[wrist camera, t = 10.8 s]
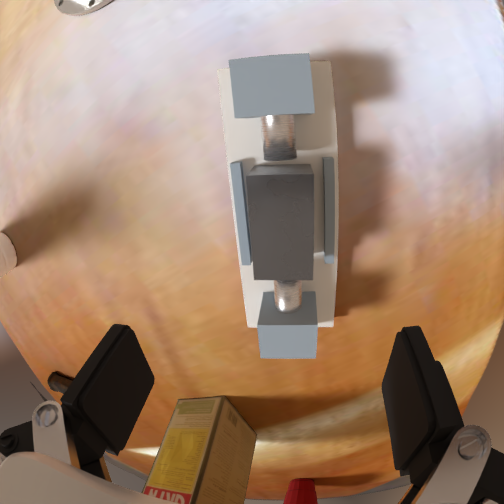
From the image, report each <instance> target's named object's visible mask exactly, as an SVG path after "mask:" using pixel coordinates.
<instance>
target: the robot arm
mask: <svg viewBox="0 0 504 504" xmlns="http://www.w3.org/2000/svg"><path fill="white" fill-rule="evenodd" d="M111 1H112V0H54V3H55V6H56V7H57V9H58V10H59V11H60V12H61V13H64V14H67V15H72V16H80V15H85V14H88V13H91V12H93V11H96V10H98V9H100V8H101V7H103V6H105V5H106V4H108V3H109V2H111ZM153 385H154V375H153V373H152V371H151V369H150V367H149V365H148V362H147V360H146V358H145V356H144V354H143V351H142V349H141V347H140V344H139V342H138V340H137V337H136V335H135V333H134V331H133V330H132V329H131V328H130V327H129V326H128V325H121V324H114V325H113V326H112V327H111V328H110V329H109V331H108V332H107V333H106V335H105V336H104V337H103V339H102V340H101V341H100V343H99V344H98V346H97V347H96V348H95V350H94V351H93V353H92V354H91V355H90V357H89V358H88V360H87V361H86V362H85V364H84V365H83V367H82V368H81V370H80V371H79V372H78V374H77V375H76V377H75V378H74V380H73V381H72V383H71V384H70V386H69V387H68V389H67V390H66V392H65V393H64V395H63V396H62V398H61V399H60V400H61V402H62V405H61V406H60V405H59V403H57V402H55V401H46V402H44V403H41V404H40V405H39V406H38V407H37V408H36V409H35V411H34V413H33V417H32V421H29V422H26V423H23V424H21V425H18V426H15V427H12V428H9V429H7V430H5V431H4V432H3V433H2V434H1V436H0V504H178V503H174V502H170V501H167V500H163V499H159V498H156V497H152V496H149V495H146V494H143V493H139V492H136V491H133V490H130V489H128V488H125V487H122V486H119V485H117V484H114V483H112V481H111V478H110V475H109V472H108V469H107V466H106V463H105V460H104V457H103V454H104V452H105V451H106V452H108V453H111V454H114V455H116V456H118V454H119V452H120V450H123V449H124V447H125V445H126V443H127V441H128V439H129V436H130V434H131V432H132V430H133V428H134V425H135V423H136V421H137V419H138V417H139V415H140V412H141V410H142V408H143V406H144V404H145V402H146V400H147V397H148V395H149V393H150V391H151V389H152V387H153ZM382 393H383V398H384V404H385V409H386V414H387V420H388V426H389V432H390V438H391V444H392V451H393V459H394V466H395V469H396V470H400V476H405V475H410V481H411V483H412V485H411V486H410V488H409V489H408V490H407V492H406V493H405V495H404V496H403V497H402V499H401V500H400V501H399V503H398V504H504V454H503V453H501V452H499V451H497V450H495V449H493V448H491V446H492V445H491V438H490V436H489V434H488V432H487V431H486V430H485V429H484V428H482V427H480V426H476V425H467V426H465V427H464V424H463V421H462V417H461V414H460V412H459V409H458V406H457V403H456V400H455V397H454V395H453V392H452V389H451V387H450V384H449V381H448V379H447V376H446V374H445V371H444V369H443V367H442V365H441V363H440V362H439V361H435V360H434V357H433V355H432V352H431V350H430V348H429V345H428V343H427V341H426V338H425V336H424V334H423V332H422V330H421V328H420V326H410V327H403V328H402V330H401V332H398V333H397V335H396V338H395V342H394V345H393V349H392V353H391V356H390V359H389V363H388V366H387V369H386V372H385V375H384V379H383V382H382Z"/></svg>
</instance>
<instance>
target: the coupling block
mask: <svg viewBox="0 0 504 504" xmlns="http://www.w3.org/2000/svg"><path fill="white" fill-rule="evenodd" d="M246 184H247V197H248V210H249V223H250V236H251V249H252V261H253V274H254V280H313V265H314V173H313V170H312V167H311V164H277V165H254V167H253V168H252V169H251V170H250V171H249V173H248V174H247V175H246Z"/></svg>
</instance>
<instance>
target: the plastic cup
mask: <svg viewBox="0 0 504 504" xmlns="http://www.w3.org/2000/svg"><path fill="white" fill-rule="evenodd" d="M283 504H318V503H317V496H316V491H315V484H314V481H313V480H311V479H305V478H304V479H294V480H292V481H291V482H290V485H289V488H288V491H287V493H286V497H285V500H284V503H283Z"/></svg>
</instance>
